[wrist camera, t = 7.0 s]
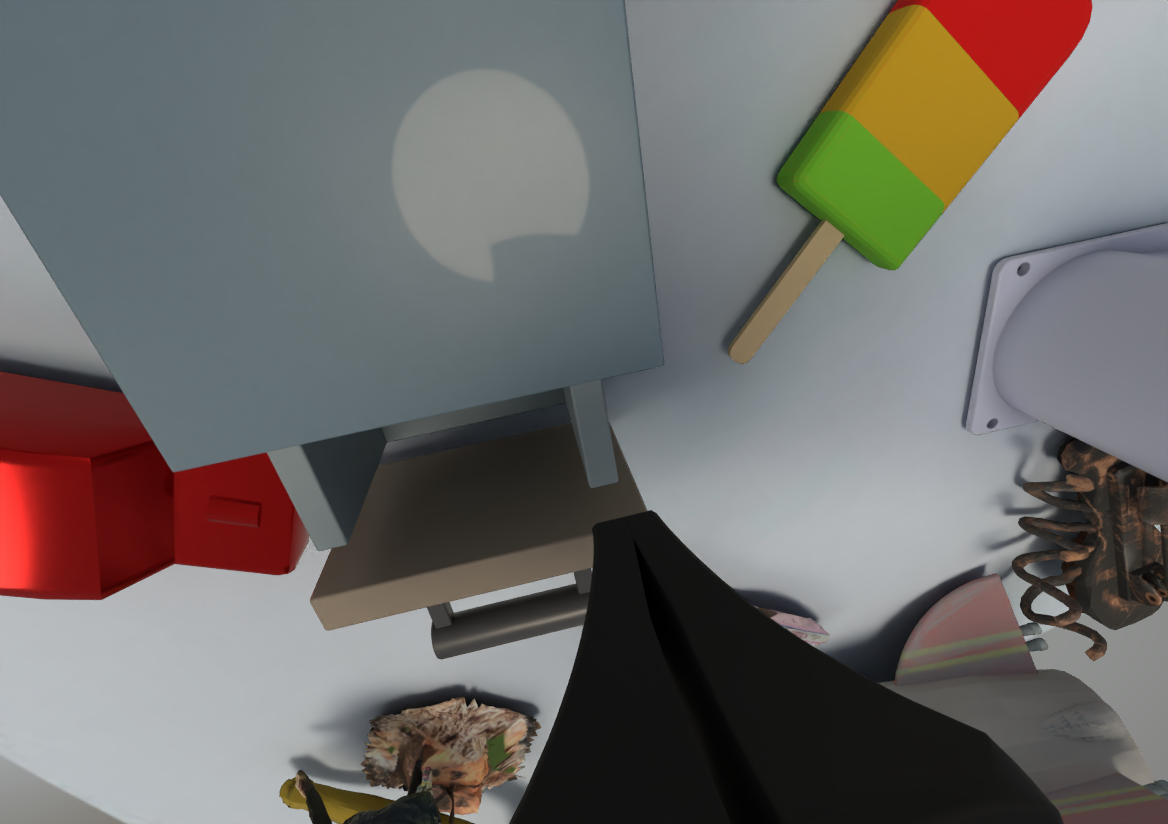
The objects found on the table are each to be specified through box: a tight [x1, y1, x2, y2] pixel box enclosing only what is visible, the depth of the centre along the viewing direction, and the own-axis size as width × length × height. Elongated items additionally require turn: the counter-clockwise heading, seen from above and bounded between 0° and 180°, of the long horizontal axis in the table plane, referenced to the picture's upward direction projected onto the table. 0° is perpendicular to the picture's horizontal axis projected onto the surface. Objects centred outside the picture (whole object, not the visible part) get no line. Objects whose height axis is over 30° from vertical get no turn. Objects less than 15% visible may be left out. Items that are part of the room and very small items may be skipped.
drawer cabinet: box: [0, 0, 664, 472], centre depth 13 cm, size 12×11×9 cm
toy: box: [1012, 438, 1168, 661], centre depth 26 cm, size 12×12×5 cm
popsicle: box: [727, 0, 1092, 364], centre depth 18 cm, size 6×15×2 cm, turn 147°
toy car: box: [0, 372, 309, 600], centre depth 17 cm, size 14×6×5 cm, turn 73°
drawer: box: [267, 380, 647, 659], centre depth 16 cm, size 15×9×7 cm, turn 10°
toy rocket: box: [878, 573, 1168, 824], centre depth 27 cm, size 25×12×12 cm, turn 104°
